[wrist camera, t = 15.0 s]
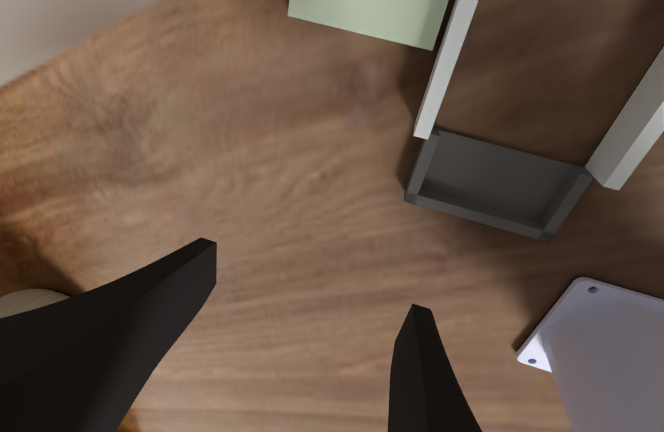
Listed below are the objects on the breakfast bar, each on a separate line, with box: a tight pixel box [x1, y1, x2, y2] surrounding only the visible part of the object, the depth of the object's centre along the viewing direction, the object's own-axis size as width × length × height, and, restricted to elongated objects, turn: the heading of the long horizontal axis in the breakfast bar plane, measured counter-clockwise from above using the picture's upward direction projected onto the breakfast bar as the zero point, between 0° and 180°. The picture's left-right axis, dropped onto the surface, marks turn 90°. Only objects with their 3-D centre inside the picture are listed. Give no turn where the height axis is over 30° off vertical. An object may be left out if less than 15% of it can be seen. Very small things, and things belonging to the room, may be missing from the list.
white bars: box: [413, 0, 664, 190], centre depth 14 cm, size 9×12×2 cm
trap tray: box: [404, 128, 594, 243], centre depth 18 cm, size 8×4×1 cm, turn 79°
